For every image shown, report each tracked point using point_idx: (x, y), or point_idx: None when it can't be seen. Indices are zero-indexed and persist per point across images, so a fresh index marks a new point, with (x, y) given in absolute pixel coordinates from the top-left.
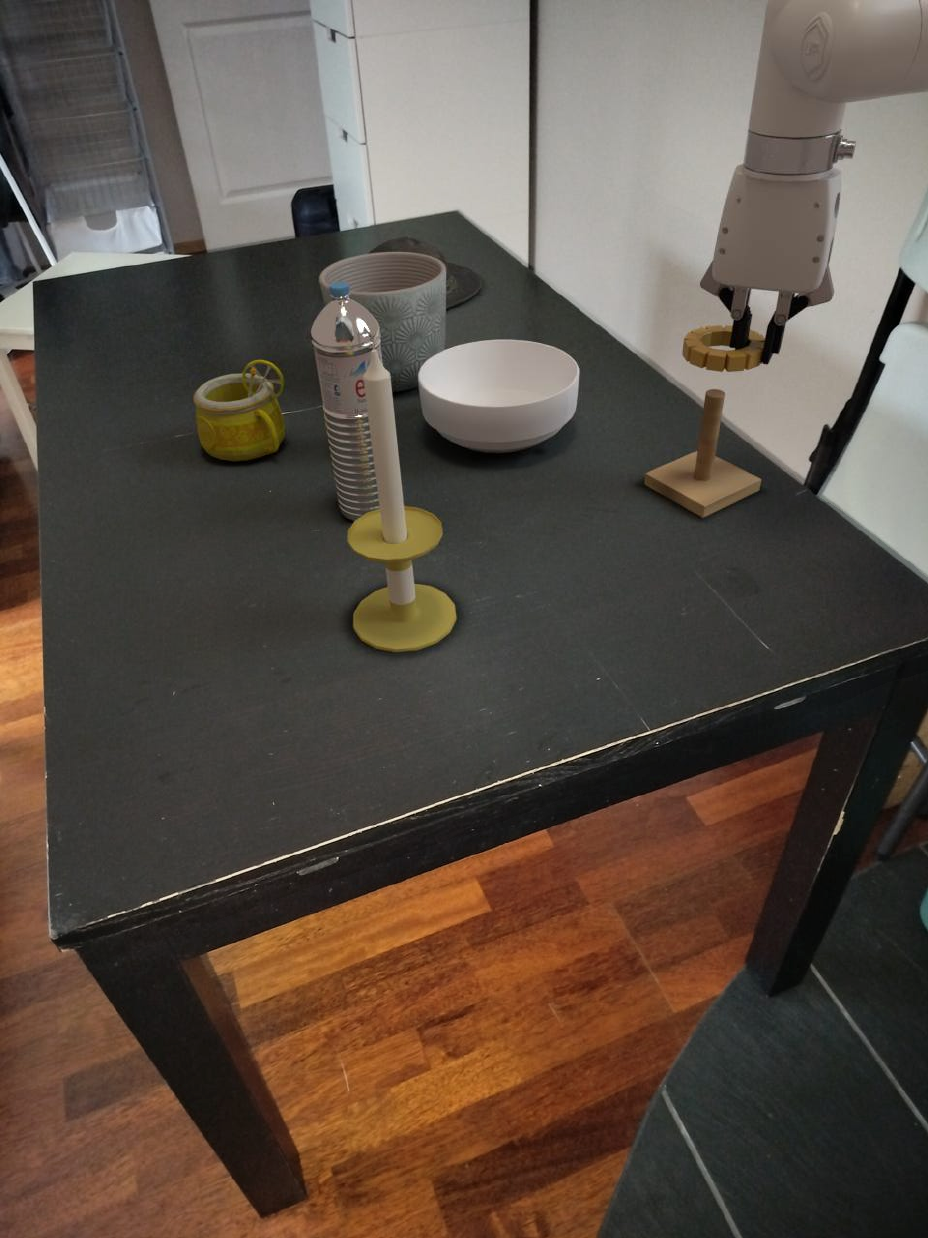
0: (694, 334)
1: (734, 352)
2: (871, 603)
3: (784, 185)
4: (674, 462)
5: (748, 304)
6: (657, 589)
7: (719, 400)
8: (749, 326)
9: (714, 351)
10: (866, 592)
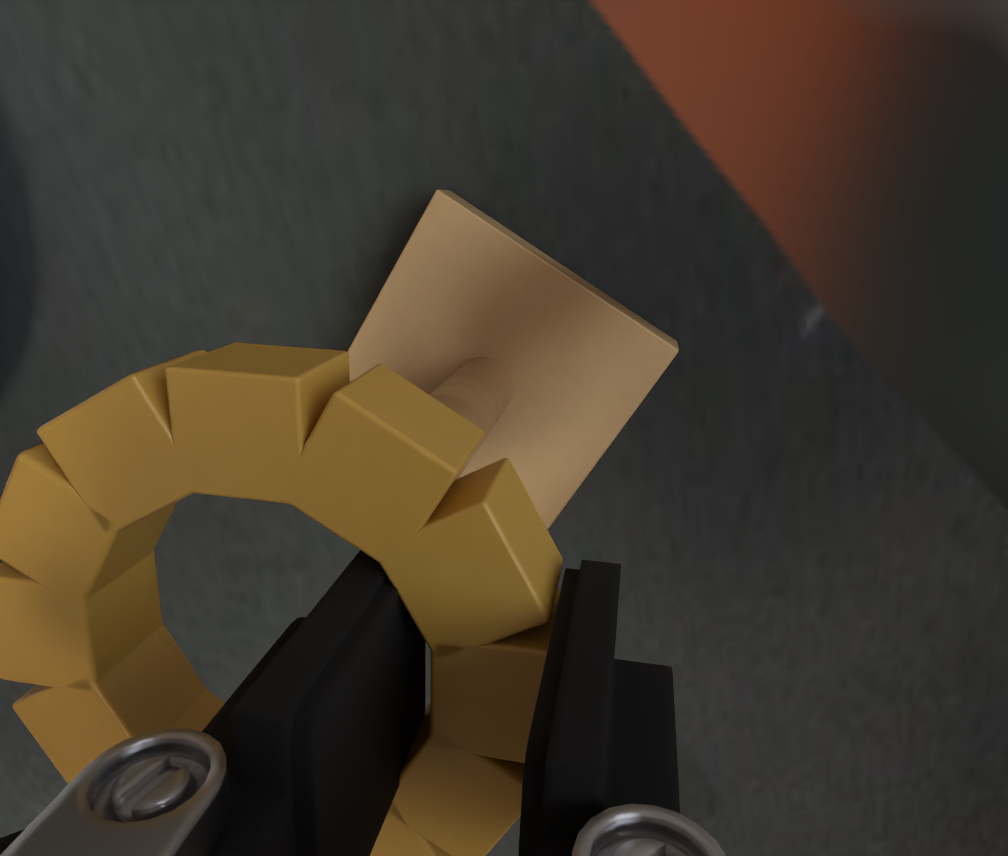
0: (29, 605)
1: None
2: (1004, 808)
3: None
4: (374, 321)
5: (209, 834)
6: None
7: None
8: (358, 714)
9: None
10: (996, 771)
